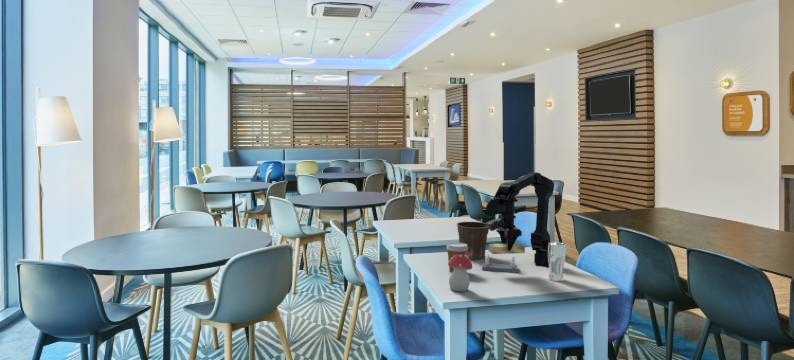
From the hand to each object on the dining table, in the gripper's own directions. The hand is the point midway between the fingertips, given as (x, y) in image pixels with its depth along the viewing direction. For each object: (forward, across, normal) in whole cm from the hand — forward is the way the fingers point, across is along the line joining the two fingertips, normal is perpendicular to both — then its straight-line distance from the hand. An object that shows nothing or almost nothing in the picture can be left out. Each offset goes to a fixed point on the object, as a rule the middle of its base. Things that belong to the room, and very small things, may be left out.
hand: (506, 248), depth 208 cm
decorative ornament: (+11, +20, -26) cm, 35 cm away
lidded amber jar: (+11, -4, -21) cm, 24 cm away
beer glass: (+11, +11, +17) cm, 23 cm away
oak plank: (+1, 0, 0) cm, 1 cm away
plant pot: (+11, -30, -6) cm, 33 cm away
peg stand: (+11, -6, -1) cm, 13 cm away
